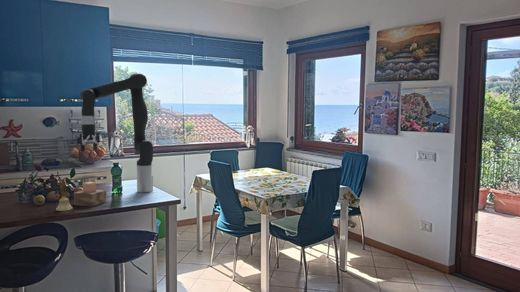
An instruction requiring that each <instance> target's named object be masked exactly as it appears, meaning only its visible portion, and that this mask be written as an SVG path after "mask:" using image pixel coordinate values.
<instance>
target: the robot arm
mask: <svg viewBox="0 0 520 292" xmlns="http://www.w3.org/2000/svg"><path fill="white" fill-rule="evenodd" d="M147 82H148V79H147V77H146V75H144V74H143V73H139V72H138V73H132V74H131V75H129V77H128V78H125V79H122V80H118V81H112V82H108V83H104V84H101V85H98V86H96V87H90V88H86V89H83V90H82V91H81V92H80V94H79V97H80V99H81V100H82V107H81V118H80V121H81V132H82V133H78V134H77V135H76V138H77V140H76V141H77V142H76V144H77V145H80V151H81V152H85V151H86V149H85V144H86V143H87V141H88V142H89V141H90V142H92V149H93V151H97V150H98V144H99V143H100V142H101V138H100V133H99V132H96V117H95V104H96V99H99V98H105V97H108V96H109V97H110V96H112V95H115V94H117V93H121V92H124V91H127V90H130V97H131V111H132V120H133V132H134V134H133V135H134V138H133V139H134V141H133V148H134V151H135V152H136V153H137V154H139V158H138V160H136V192H137V193H150V192H152V191H154V182H153V181H154V180H153V177H154V176H153V175H152V174H153V173H152V167H153V166H152V163H153V160H154V147H153V143H152V142H151V141H150V140H148V139H147V138H146V128H147V125H148V122H149V121H148V120H149V115H148V113H149V112H148V107H147V104H146V101H145V99H144V96H143V94H144V93H143V88H144V87H145V86H146V84H147Z"/></svg>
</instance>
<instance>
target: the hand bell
mask: <svg viewBox="0 0 520 292" xmlns="http://www.w3.org/2000/svg"><path fill="white" fill-rule="evenodd" d="M66 188H67V183H66V181H65V179H64V178H63V179H61V181H60V190H61V197H60V199H59V200H58V204H57V207H56V208H55V211H57V212H58V211H59V212H63V211H65V212H66V211H71V210H73V209H74V207H73V206H71V204H70V200H69V198H68V197H67V195H66Z"/></svg>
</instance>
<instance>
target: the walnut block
mask: <svg viewBox="0 0 520 292" xmlns="http://www.w3.org/2000/svg"><path fill="white" fill-rule="evenodd" d="M103 203H107V190H106V189H105V190H104V189H97V188H96V191H95V192H90V193H87V192H83V189H82V190H79V191H75V192H73V205H75V206H82V207H83V206H84V207H90V208H91V207H95V206H98V205H100V204H103Z"/></svg>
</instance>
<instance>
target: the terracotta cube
mask: <svg viewBox="0 0 520 292" xmlns="http://www.w3.org/2000/svg"><path fill="white" fill-rule="evenodd" d="M96 189H97V182H94V181H86V182H82V190H83V192H87V193H90V192H95V191H96Z"/></svg>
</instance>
